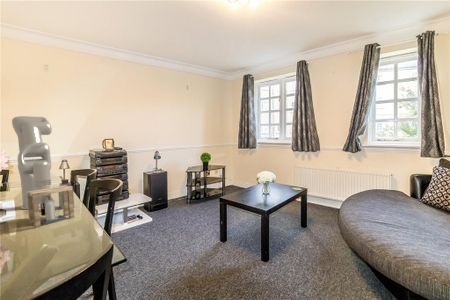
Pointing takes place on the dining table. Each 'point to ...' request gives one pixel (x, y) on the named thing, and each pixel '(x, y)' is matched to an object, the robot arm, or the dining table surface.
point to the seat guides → (53, 220)
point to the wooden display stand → (33, 195)
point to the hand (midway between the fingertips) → (45, 214)
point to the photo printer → (49, 209)
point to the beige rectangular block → (64, 182)
